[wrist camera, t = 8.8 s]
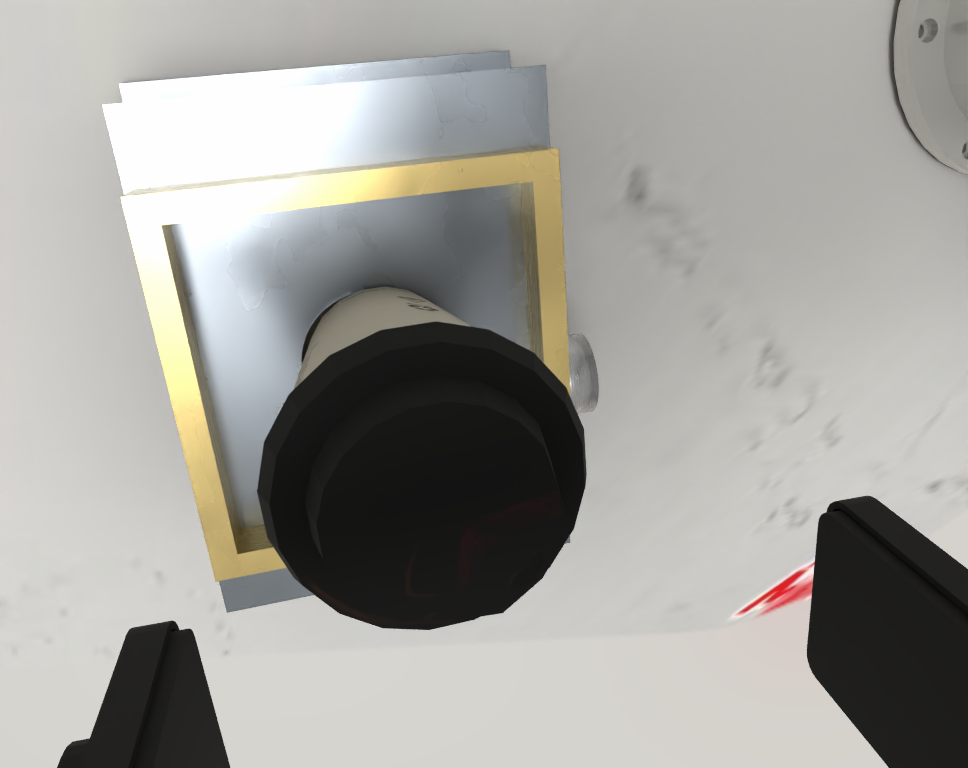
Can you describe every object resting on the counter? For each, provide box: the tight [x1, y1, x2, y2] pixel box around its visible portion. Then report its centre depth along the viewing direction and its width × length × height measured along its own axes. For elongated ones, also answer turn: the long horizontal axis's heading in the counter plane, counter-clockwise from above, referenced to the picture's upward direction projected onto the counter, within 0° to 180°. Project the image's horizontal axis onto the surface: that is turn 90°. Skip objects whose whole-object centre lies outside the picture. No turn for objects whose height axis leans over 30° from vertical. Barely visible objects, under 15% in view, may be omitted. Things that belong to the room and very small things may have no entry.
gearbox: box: [102, 50, 599, 613], centre depth 27 cm, size 17×15×8 cm
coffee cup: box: [257, 287, 586, 630], centre depth 20 cm, size 7×7×10 cm
